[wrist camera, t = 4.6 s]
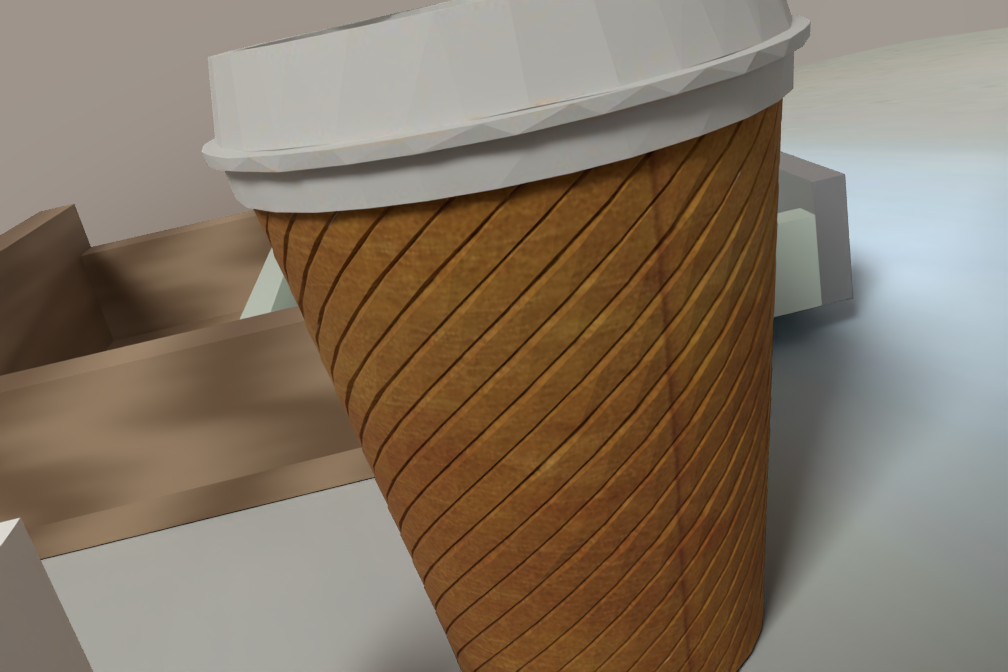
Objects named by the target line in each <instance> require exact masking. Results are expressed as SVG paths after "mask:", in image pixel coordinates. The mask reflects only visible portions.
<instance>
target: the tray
mask: <svg viewBox="0 0 1008 672" xmlns="http://www.w3.org/2000/svg"><path fill="white" fill-rule="evenodd" d="M778 182H779V197H778V215H777V223H778V227H777V245H776V282H775V310H774V317H777V316H781V315H785V314H789V313H793V312H797V311H801V310H805V309H810V308H814V307H818V306H822V305H826V304H830V303H834V302H838V301H843V300H847V299H851V298H853V291H852V275H851V260H850V244H849V228H848V212H847V196H846V180H845V174H843V173H840V172H837V171H834V170H832V169H829V168H826V167H823V166H820V165H817V164H815V163H812V162H809V161H806V160H803V159H800V158H798V157H795V156H792V155H789V154H786V153H783V152H781V151H780V164H779V181H778ZM295 306H298V305H297V303H296V301H295V299H294V297H293V295H292V293H291V291H290V287H289V285H288V283H287V281H286V279H285V277H284V275H283V273H282V271H281V269H280V267H279V265H278V263H277V261H276V259H275V257H274V254H273V249H272V248H271V250H270V252H269V254H268V257H267V259H266V261H265V263H264V266H263V268H262V270H261V272H260V275H259V277H258V279H257V281H256V284H255V286H254V288H253V290H252V293H251V295H250V297H249V299H248V302H247V304H246V306H245V308H244V311H243V313H242V315H241V317H240V319H244V318H249V317H253V316H257V315H261V314H266V313H270V312H274V311H278V310H283V309H287V308H291V307H295Z"/></svg>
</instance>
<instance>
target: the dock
mask: <svg viewBox="0 0 1008 672" xmlns="http://www.w3.org/2000/svg"><path fill="white" fill-rule="evenodd" d="M271 248H272V247H271V245H270V243H269V241H268V239H267V237H266V234H265V232H264V230H263V228H262V226H261V224H260V222H259V220H258V218H257V216H256V214H255V212H254V210H252V211H248V212H243V213H239V214H234V215H230V216H226V217H222V218H217V219H212V220H208V221H204V222H199V223H195V224H191V225H186V226H182V227H177V228H174V229H169V230H164V231H160V232H156V233H151V234H147V235H142V236H138V237H134V238H129V239H125V240H121V241H116V242H112V243H108V244H103V245H99V246H94V247H91V246H90V244H89V241H88V238H87V236H86V233H85V231H84V228H83V225H82V223H81V220H80V218H79V215H78V213H77V210H76V207H75V205H74V204H72V205H67V206H63V207H59V208H55V209H50V210H45V211H41V212H39V213H37V214H35V215H34V216H32V217H30V218H29V219H27V220H25V221H24V222H22V223H20V224H19V225H17V226H15V227H14V228H12V229H10V230H9V231H7V232H5V233H4V234H2V235H0V523H1V522H5V521H9V520H13V519H17V518H21V520H22V522H23V524H24V526H25V528H26V530H27V533H28V535H29V537H30V539H31V541H32V543H33V545H34V547H35V549H36V552H37V554H38V556H39V558H40V559H43V558H47V557H51V556H55V555H59V554H64V553H68V552H72V551H76V550H80V549H84V548H88V547H92V546H96V545H100V544H104V543H108V542H112V541H116V540H120V539H124V538H129V537H133V536H137V535H141V534H145V533H149V532H153V531H157V530H161V529H165V528H169V527H173V526H177V525H181V524H185V523H189V522H194V521H198V520H202V519H206V518H210V517H214V516H218V515H222V514H226V513H230V512H234V511H238V510H242V509H246V508H250V507H254V506H259V505H263V504H267V503H271V502H275V501H279V500H283V499H287V498H291V497H295V496H299V495H303V494H307V493H311V492H315V491H319V490H323V489H328V488H332V487H336V486H340V485H344V484H348V483H352V482H356V481H360V480H364V479H368V478H372V477H375V476H374V474H373V472H372V470H371V468H370V465H369V463H368V461H367V459H366V457H365V455H364V453H363V451H362V447H361V445H360V443H359V441H358V439H357V437H356V435H355V433H354V431H353V429H352V427H351V425H350V423H349V418H348V416H347V414H346V412H345V410H344V408H343V406H342V404H341V402H340V400H339V398H338V396H337V394H336V392H335V387H334V385H333V383H332V381H331V379H330V377H329V375H328V373H327V371H326V369H325V367H324V365H323V363H322V361H321V358H320V354H319V352H318V350H317V348H316V346H315V344H314V342H313V340H312V338H311V336H310V334H309V332H308V330H307V328H306V325H305V320H304V318H303V316H302V314H301V312H300V310H299V307H298V306H295V307H291V308H287V309H283V310H278V311H274V312H270V313H266V314H261V315H257V316H253V317H249V318H244V319H240V317H241V315H242V313H243V311H244V308H245V306H246V304H247V302H248V299H249V297H250V295H251V293H252V290H253V288H254V286H255V284H256V281H257V279H258V277H259V275H260V272H261V270H262V268H263V266H264V263H265V261H266V259H267V257H268V254H269V252H270V250H271Z"/></svg>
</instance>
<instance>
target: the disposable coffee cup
mask: <svg viewBox="0 0 1008 672" xmlns="http://www.w3.org/2000/svg"><path fill="white" fill-rule="evenodd" d="M809 36H810V21H809V20H808V19H807V18H806V17H802V16H798V15H791V14H790V10H789V7H788V4H787V1H786V0H452V1H448V2H443V3H439V4H434V5H430V6H426V7H421V8H417V9H412V10H408V11H403V12H399V13H395V14H390V15H386V16H381V17H377V18H372V19H368V20H363V21H359V22H355V23H350V24H346V25H342V26H337V27H333V28H328V29H324V30H319V31H315V32H310V33H306V34H301V35H297V36H293V37H288V38H284V39H280V40H275V41H271V42H266V43H262V44H258V45H253V46H249V47H245V48H241V49H237V50H233V51H229V52H225V53H221V54H218V55H214V56H211V57H208V66H209V77H210V88H211V98H212V109H213V120H214V131H215V138H214V139H213V140H211V141H209V142H208V143H206V144H205V145H204V146H203V149H202V154H203V156H204V158H205V160H206V163H207V164H208V165H209V166H210V167H211V168H213V169H214V170H223V171H225V173H226V175H227V177H228V180H229V183H230V185H231V188H232V190H233V193H234V195H235V198H236V200H238V201H239V202H240V203H242V204H243V205H244V206H246V207H247V208H253V209H254V212H255V214H256V216H257V218H258V220H259V222H260V224H261V226H262V228H263V230H264V232H265V234H266V237H267V239H268V241H269V243H270V245H271V247H272V249H273V254H274V257H275V259H276V261H277V263H278V265H279V267H280V269H281V271H282V273H283V275H284V277H285V279H286V281H287V283H288V285H289V287H290V291H291V293H292V295H293V297H294V299H295V301H296V303H297V305H298V307H299V310H300V312H301V314H302V316H303V318H304V320H305V325H306V328H307V330H308V332H309V334H310V336H311V338H312V340H313V342H314V344H315V346H316V348H317V350H318V352H319V354H320V358H321V361H322V363H323V365H324V367H325V369H326V371H327V373H328V375H329V377H330V379H331V381H332V383H333V385H334V387H335V392H336V394H337V396H338V398H339V400H340V402H341V404H342V406H343V408H344V410H345V412H346V414H347V416H348V418H349V423H350V425H351V427H352V429H353V431H354V433H355V435H356V437H357V439H358V441H359V443H360V445H361V447H362V451H363V453H364V455H365V457H366V459H367V461H368V463H369V465H370V468H371V470H372V472H373V474H374V476H375V480H376V482H377V484H378V486H379V488H380V490H381V492H382V494H383V496H384V498H385V500H386V502H387V504H388V509H389V511H390V513H391V515H392V517H393V519H394V521H395V523H396V525H397V527H398V529H399V531H400V533H401V537H402V539H403V541H404V543H405V545H406V547H407V549H408V551H409V553H410V555H411V557H412V559H413V564H414V566H415V568H416V570H417V572H418V574H419V576H420V578H421V580H422V582H423V584H424V585H425V586H424V588H425V590H426V592H427V594H428V596H429V598H430V600H431V602H432V604H433V606H434V608H435V610H436V614H437V617H438V619H439V621H440V623H441V625H442V627H443V629H444V631H445V633H446V635H447V639H448V641H449V643H450V645H451V647H452V649H453V652H454V654H455V656H456V658H457V662H458V664H459V666H460V669H461V671H462V672H736V671H737V670H738V669H739V668H740V666H741V665H742V664H743V662H744V661H745V660H746V659H747V657H748V656H749V655H750V653H751V652H752V650H753V647H754V645H755V643H756V640H757V638H758V636H759V634H760V631H761V626H762V619H763V611H764V603H763V594H764V562H765V534H766V507H767V479H768V460H769V458H768V455H769V438H770V410H771V380H772V344H773V318H774V310H775V282H776V245H777V227H778V223H777V215H778V197H779V182H778V181H779V164H780V141H781V120H782V101H783V97H784V96H785V95H786V94H788V93H789V92H790V91H791V90H792V89H793V75H794V51H796V50H797V49H799V48H801V47H803V45H804V44H805V42H806V41H807V39H808V38H809Z"/></svg>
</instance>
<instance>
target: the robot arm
mask: <svg viewBox="0 0 1008 672" xmlns="http://www.w3.org/2000/svg"><path fill="white" fill-rule="evenodd" d="M0 672H93V670H92V668H91V666H90V664H89V662H88V660H87V658H86V655H85V653H84V651H83V649H82V647H81V645H80V643H79V641H78V638H77V636H76V634H75V632H74V630H73V628H72V626H71V624H70V622H69V619H68V617H67V615H66V613H65V611H64V609H63V607H62V605H61V602H60V600H59V598H58V596H57V594H56V592H55V590H54V588H53V585H52V583H51V581H50V579H49V577H48V575H47V573H46V571H45V569H44V566H43V564H42V562H41V560H40V558H39V556H38V554H37V552H36V549H35V547H34V545H33V543H32V541H31V539H30V537H29V535H28V533H27V530H26V528H25V526H24V524H23V522H22V520H21V518H17V519H13V520H9V521H5V522H1V523H0Z"/></svg>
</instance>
